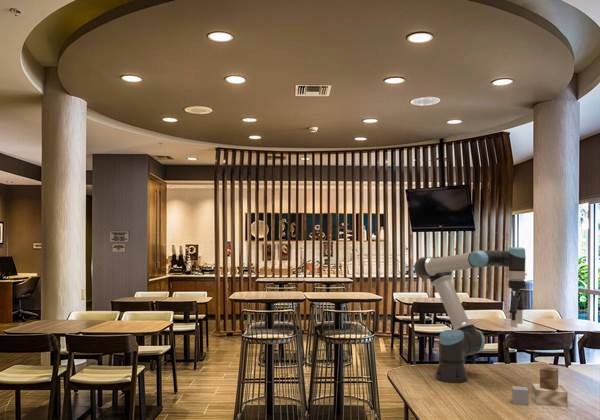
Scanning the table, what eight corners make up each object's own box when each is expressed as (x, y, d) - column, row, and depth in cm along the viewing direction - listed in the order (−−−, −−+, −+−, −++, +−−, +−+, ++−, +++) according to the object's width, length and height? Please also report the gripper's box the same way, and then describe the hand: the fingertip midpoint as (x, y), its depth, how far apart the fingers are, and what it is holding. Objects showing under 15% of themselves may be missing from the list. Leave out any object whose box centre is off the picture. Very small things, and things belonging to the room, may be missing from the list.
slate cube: (513, 403, 238) (513, 389, 238) (511, 400, 244) (511, 385, 244) (528, 405, 236) (528, 390, 237) (527, 401, 242) (526, 387, 242)
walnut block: (539, 387, 242) (539, 368, 243) (543, 385, 247) (543, 366, 248) (554, 390, 239) (554, 370, 239) (558, 387, 244) (558, 368, 244)
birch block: (536, 404, 238) (536, 390, 239) (531, 397, 250) (531, 383, 250) (567, 407, 235) (567, 392, 236) (561, 399, 247) (561, 385, 247)
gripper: (520, 282, 256) (520, 329, 255) (529, 279, 277) (529, 322, 276) (502, 281, 260) (502, 328, 259) (513, 278, 281) (513, 321, 280)
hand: (516, 325), depth 267 cm, fingers open, 13 cm apart
